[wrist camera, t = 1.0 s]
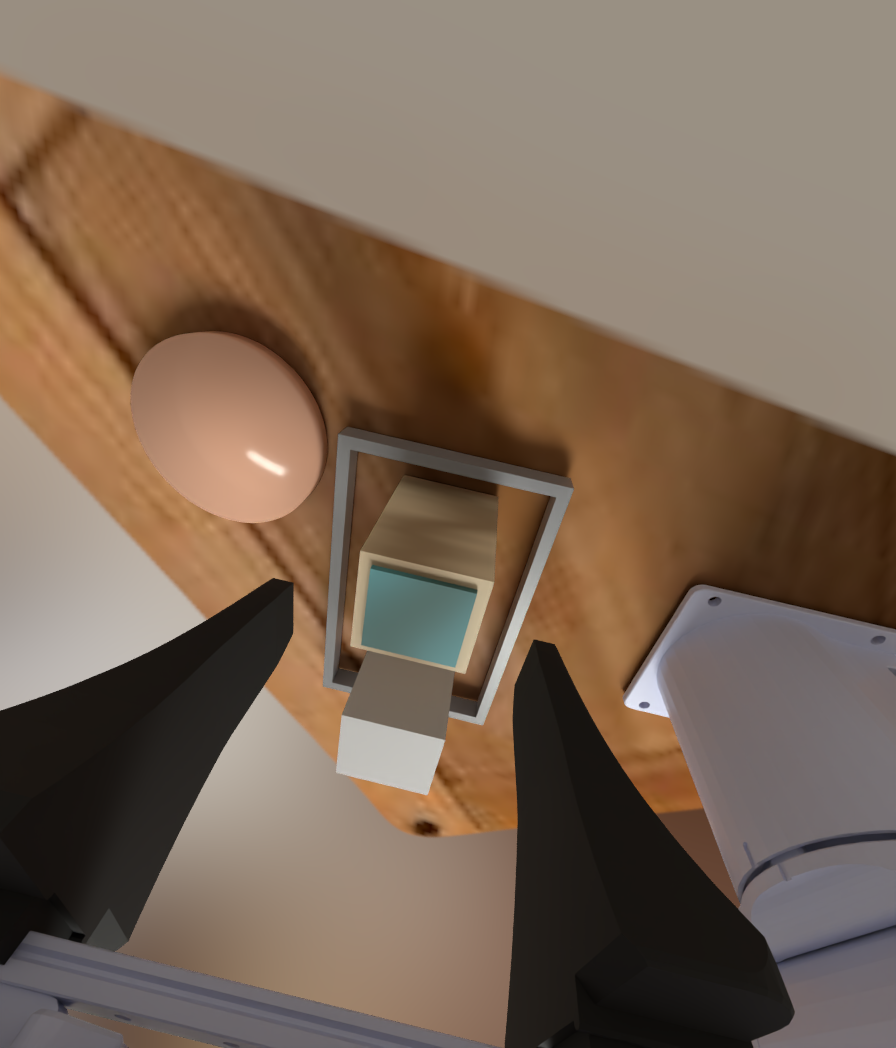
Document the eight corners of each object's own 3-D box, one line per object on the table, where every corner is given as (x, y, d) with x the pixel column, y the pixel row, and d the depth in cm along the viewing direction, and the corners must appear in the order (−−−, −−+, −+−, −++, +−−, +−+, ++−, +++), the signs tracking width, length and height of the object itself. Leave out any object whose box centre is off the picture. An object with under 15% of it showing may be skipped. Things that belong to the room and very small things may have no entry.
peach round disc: (331, 355, 15) (321, 359, 14) (323, 528, 19) (314, 540, 18) (134, 310, 15) (111, 311, 14) (165, 491, 19) (148, 500, 18)
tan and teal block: (498, 496, 17) (493, 586, 12) (476, 573, 19) (464, 678, 14) (403, 474, 17) (358, 554, 12) (392, 553, 19) (348, 650, 14)
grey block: (461, 628, 21) (445, 739, 16) (446, 680, 23) (427, 795, 18) (383, 609, 21) (342, 715, 16) (375, 663, 23) (335, 772, 18)
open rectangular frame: (570, 478, 16) (574, 488, 15) (483, 709, 23) (482, 725, 23) (347, 426, 16) (338, 434, 15) (329, 671, 24) (323, 686, 23)
